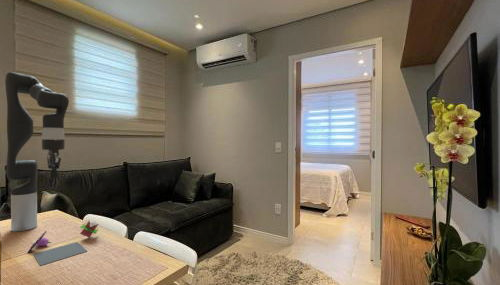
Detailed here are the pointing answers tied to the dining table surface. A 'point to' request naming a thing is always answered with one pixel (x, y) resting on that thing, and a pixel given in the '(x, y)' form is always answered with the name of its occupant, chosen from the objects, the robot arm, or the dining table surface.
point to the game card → (40, 242)
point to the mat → (59, 253)
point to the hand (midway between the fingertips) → (53, 178)
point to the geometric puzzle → (89, 228)
